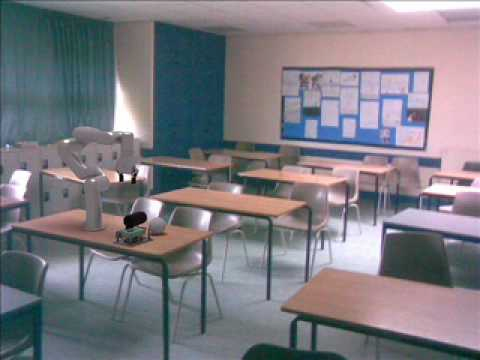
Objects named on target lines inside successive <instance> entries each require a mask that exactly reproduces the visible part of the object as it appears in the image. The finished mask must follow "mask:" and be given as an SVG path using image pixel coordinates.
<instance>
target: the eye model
mask: <svg viewBox="0 0 480 360" xmlns="http://www.w3.org/2000/svg"><path fill="white" fill-rule="evenodd" d="M166 223H167V222H166V220H164V218H162V217H158V216H155V217H152V218H151V219H150V221H149V223H148V228H150V233H152V234H154V235H161V234H163V233H164V231H165V230H166V227H167V224H166Z"/></svg>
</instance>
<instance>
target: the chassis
mask: <svg viewBox="0 0 480 360" xmlns="http://www.w3.org/2000/svg"><path fill="white" fill-rule="evenodd" d="M135 227H137V225H136V226H135ZM119 231H120V230H116V232H117V237H116V240H114V241H113V244H115V245H118V246H123V247H127V248H132V247H136V246H137V247H138V246H139V245H143V244H145V243H149V242H152V241H154V238H152V237H151V231H150V228H149V227H148V229H147V236H144V234H142V235H139V236H136V237H132V233H130V238H128V237H123V238H119Z"/></svg>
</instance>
